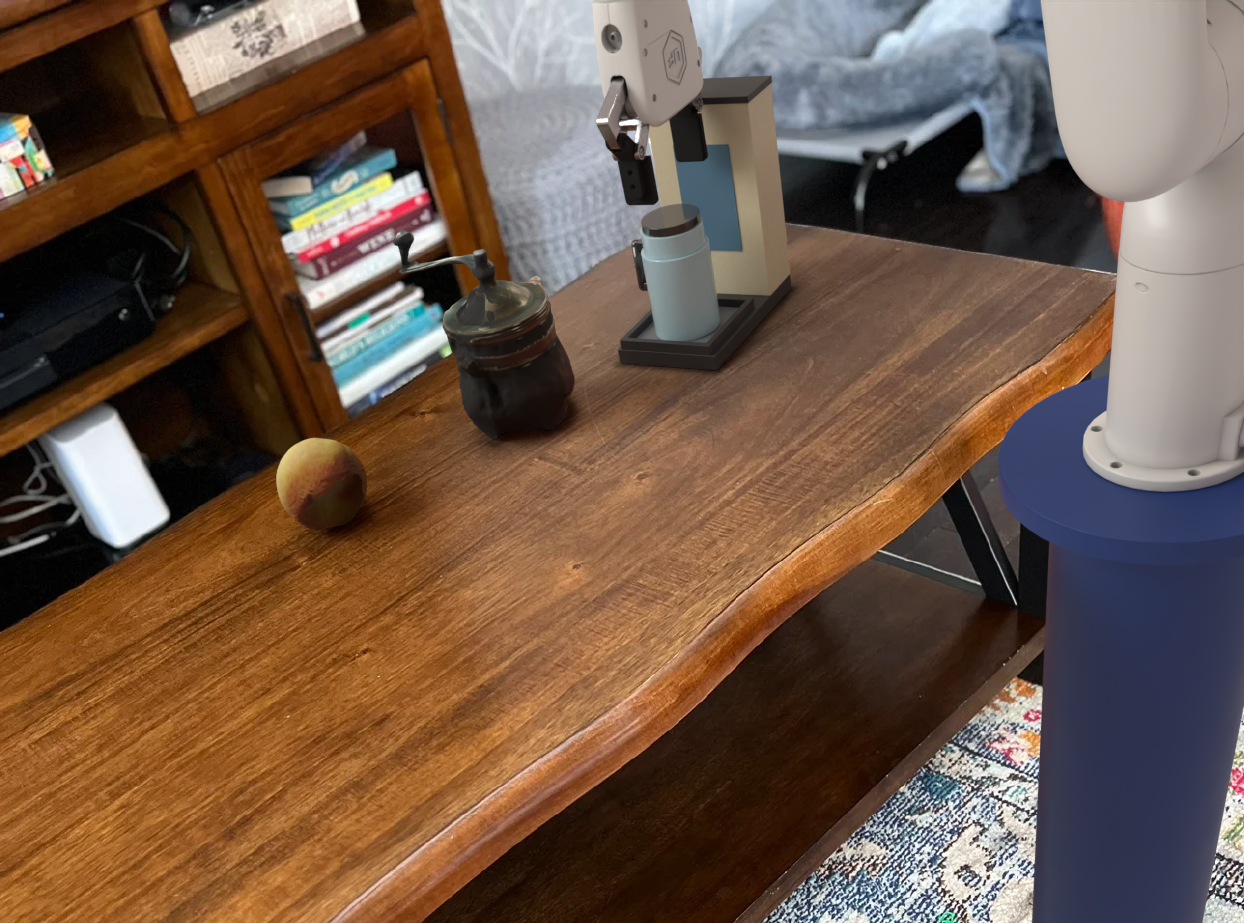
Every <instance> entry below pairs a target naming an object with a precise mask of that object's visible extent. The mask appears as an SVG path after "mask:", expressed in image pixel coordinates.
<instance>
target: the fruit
mask: <svg viewBox="0 0 1244 923" xmlns="http://www.w3.org/2000/svg"><path fill="white" fill-rule="evenodd" d="M275 481H276V489H277V495H278V497H279V501H280V503H281V505H282V507H283V508H284V510H285V511H286V513H288V515H289V516H290V517H291V518H292V519H293V520H295V521H296V522H297V523H298V524H300V525H302V526H303V527H305V528H306V529H307V530H308V529H309V530H311V532H313V531H323V530H326V529H329V528H335V527H340V526H343V525H347V524H348V523H350V522H351V521H352V520H353V519H354V518H355V516H356V515H357V513H358V512H359V510H360V509H361V508H362V506H363V505H364V504H365V502H366V501H367V494H368V493H367V491H368V484H367V483H368V479H367V472H366V469H365V466H364V463H363V462H362V460H361V459H360V458H359V456H358V455H357V454H356V453H355V452H354V451H353V450H352V449H351V447H349V446H348V445H347V444H344V443H341V442H339V441H338V440H335V439H331V438H320V437H310V438H307V439H304V440H301V441H299V442H298V443H295V444H294V445H292V446H291V447H290V448H289V449H288V450H287V451H286V452H285V453H284V454H283V457H282V458H281V460H280V462H279V465H278V467H277V471H276V478H275Z"/></svg>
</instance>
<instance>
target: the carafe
mask: <svg viewBox="0 0 1244 923" xmlns="http://www.w3.org/2000/svg"><path fill="white" fill-rule="evenodd" d="M640 226H641V227H640V229H639V234H640V239H639V238H635V239H633V240H632V241H631V243H630V248H631V253H632V258H633V264H634V269H635V275H636V280H637V286H638V289H639V290H640V291H642V292H647V294H648V301H649V305H650V310H651V311H652V317H653V322H654V328H655V333H656V335H657V337H658V338H660V339H662V340H670V341H691V340H695V339H698V338H701V337H704V336H706V335H708V334H710V333H711V332H713V331H714V330H715V329H717V327H718V326H719V325H720V322H721V318H720V311H719V304H718V297H717V291H716V284H715V277H714V270H713V263H712V256H711V249H710V242H709V238H708V237H707V236H706V235H705V230H704V223H703V218H702V216H701V215H700V211H699V208H698V207H697V206H695V205H691V204H673V205H668V206H664V207H661V206H660V207H658V208H656V209H653V210H651V211H649V212H647V213H646V214H645V215H644V216H643V217H642V218H641V220H640Z"/></svg>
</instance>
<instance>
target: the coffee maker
mask: <svg viewBox="0 0 1244 923" xmlns="http://www.w3.org/2000/svg"><path fill="white" fill-rule="evenodd" d="M772 76H773V75H751V76H749V75H748V76H727V77H709V78H708V77H705V78H704V77H703V87H702V89H701V93H700V96H701V98H702V100H703V109H702V111H701V112H698V113H702V119H703V126H704V132H705V139H706V145H707V152H708V158H707V159H706V160H705V161H700V162H678V161H677V160H676V157H675V151H674V145H673V139H672V133H671V128H670V122H669V120H668V121H667V122H665V123H664V124H663V125H661V126H659V127H652V126H651V125H650V127H649V134H648V138H650V143H651V149H652V153H651V156H652V155H653V157H652V162H653V168H654V174H655V179H656V185H657V191H658V197H659V201H660V207H664V206H668V205H673V204H691V205H695V206H697V207H698V208H699V211H700V215H701V216H702V218H703V223H704V230H705V235H706V236H707V237H708V238H709V242H710V249H711V256H712V263H713V270H714V277H715V284H716V291H717V297H718V304H719V311H720V318H721V322H720V325H719V326H718V327H717V329H715V330H714V331H713V332H711V333H710V334H708V335H706V336H704V337H701V338H698V339H695V340H691V341H670V340H662V339H660V338H658V337H657V335H656V333H655V328H654V322H653V317H652V311H651V309H650V310H649V311H648V312H647V313H645V314H644V316H643V317H642V318H640V320H639V321H637V322H636V323H635V324H634V326H633V327H631V328H630V329H629V330H628V332H626V333H625V334H624V335H623V336H622V337H621V338H620V339H619V343H620V346H619V347H618V348H617V353H618V358H619V362H620V364H627V365H639V366H655V367H665V368H666V367H667V368H677V369H678V368H679V369H691V370H706V371H718V370H719V369H720V368H721V367H722V366H723V365H724V364H725V362H726V361H727V360H729V359H730V357H731V356H732V355H733V353H734V352H735V351H736V350H737V349H738V348H739V347H740V346H741V345H742V344H743V343H744V341H745V340H746V339H747V338H748V337H749V336H750V335H751V334H752V333H753V332H754V330H755V329H756V328H757V327H758V326H759V325H760V323H762V321H763V320H765V318H766V317H767V316H768V315H769V313H771V311H773V309H775V307H776V306H777V305H778V303H780V301H782V299H783V298H785V296H786V295H787V294H788V293H789V291H790V290H791V289H792V287H793V286H792V276H791V266H790V254H789V246H788V236H787V226H786V217H785V207H784V198H783V187H782V178H781V167H780V159H779V158H780V157H779V149H778V138H777V130H776V120H775V111H774V110H775V108H774V100H773V90H772V83H773V77H772Z"/></svg>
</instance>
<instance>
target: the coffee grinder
mask: <svg viewBox="0 0 1244 923" xmlns="http://www.w3.org/2000/svg"><path fill="white" fill-rule="evenodd" d="M414 241H415V235H414V234H413V233H412V232H411V231H409V230H407V229H402V230H401V229H400V231H399V232H397V233H396V235H395V238H394V240H393V242H392V243H393V245H394V246H395V247H397V249H398V252H399V255H400V262H401V267H400V269H399V271H398V272H399V273H400V274H401V275H406V274H407V275H408V274H409V273H414V272H421V271H426V270H429V269H433V268H436V267H440V266H446V265H465V266H466V267H468V269H469V270H470V271H471V273H472V275H473V276H474V277H475V278H476V280H477V281H478V283H479V285H478V286H475V288H473V289H472V290H470V292H468V294H467V295H465V296H464V297H462V298H460V299H459V300H457V301H456V302H455V303H454V304H452V305H451V307H450V308H449V309H448V310H446V311H444V314H443V316H442V324H441V325H442V330H443V331H444V334H445V335H446V337H447V342H448V345H449V348H450V351H451V352H452V354H453V355H454V357H455V363H456V365H457V372H459V382H458V383H459V389H460V390H459V391H460V395H461V402H462V405H463V410H464V411H465V413H466V415H467V416H468V418H469V419H471V422H472V424H473V425H475V426H476V427H477V428H478V429H479V430H480V431H481V432H483V434H484V435H485V436H486V437H488V438H489V439H495V440H496V439H498V436H499V435H502V434H503V433H505V432H511V431H516V430H517V431H533V432H542V431H545V430H546V431H549V430H550V429H551V430H552V429H555V428H558V427H559V426H560V424H561V423H562V422H563V421H564V420H565V418H566V417H567V416H568V408H569V406H568V405H567V399H568V397H569V396H570V395H571V394H572V393H573V391H574V389H575V382H576V381H575V374H574V371H573V368H572V365H571V361H570V357H569V355H568V353H567V351H566V349H565V346H564V345H563V344H562V342H561V340H560V338H559V336H558V334H557V331H556V325H555V324H556V323H555V319H554V315H553V313H552V304H551V301H550V300H549V295H548V293H547V290H546V289H545V288H544V285H543V281H542V279H541V278H540V276H537V275H534V276H532V277H531V278H530V279H529V280H527V281H525V282H524V281H519V280H515V281H509V280H505V279H501V280H500V279H499V280H497V279H495V276H496V271H497V270H496V269H497V268H496V266H495V263H494V262H492V261H490V259H489V258H488V253H487V250H486V249H484V248H482V249H481V248H480V249H477V250H474V251H473V252H472V254H464V255H461V256H452V257H451V256H450V257H445V258H441V259H439V260H438V259H437V260H434V261H429V262H422V263H419V262H418V261H416V260H413V261H409V260H408V259H409V254H410V249H411V247H412V245H413V244H414Z"/></svg>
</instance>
